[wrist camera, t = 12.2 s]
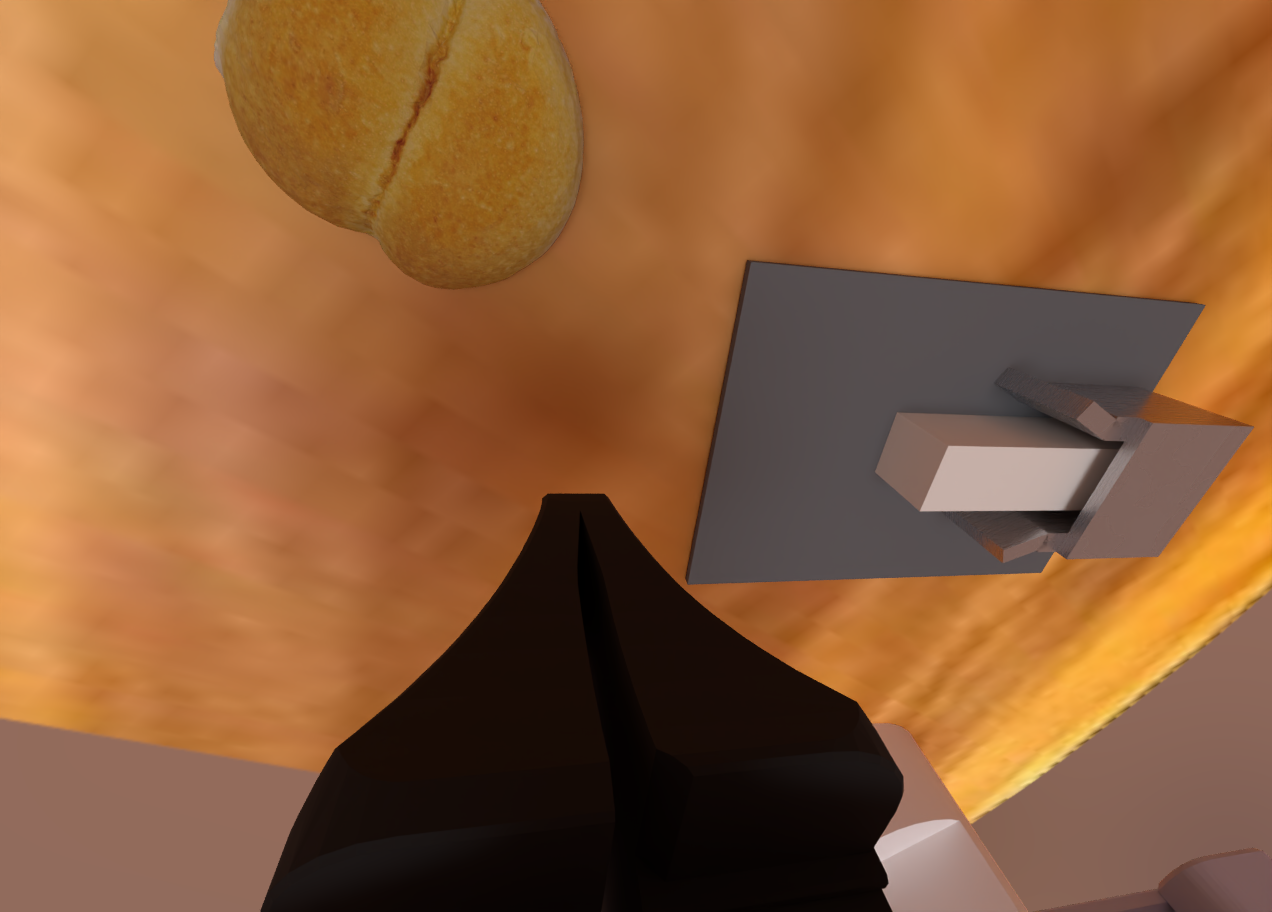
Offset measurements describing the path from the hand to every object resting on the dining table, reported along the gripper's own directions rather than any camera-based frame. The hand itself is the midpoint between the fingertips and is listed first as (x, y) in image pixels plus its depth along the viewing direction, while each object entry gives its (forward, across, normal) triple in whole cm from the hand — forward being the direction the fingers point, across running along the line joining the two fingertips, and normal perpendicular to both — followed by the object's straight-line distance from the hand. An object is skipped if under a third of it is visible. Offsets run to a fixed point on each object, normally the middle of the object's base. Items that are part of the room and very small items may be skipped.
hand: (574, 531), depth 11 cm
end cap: (+9, -23, +2) cm, 25 cm away
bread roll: (+10, +4, -8) cm, 13 cm away
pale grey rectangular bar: (+9, -20, +2) cm, 22 cm away
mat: (+9, -17, +2) cm, 20 cm away
